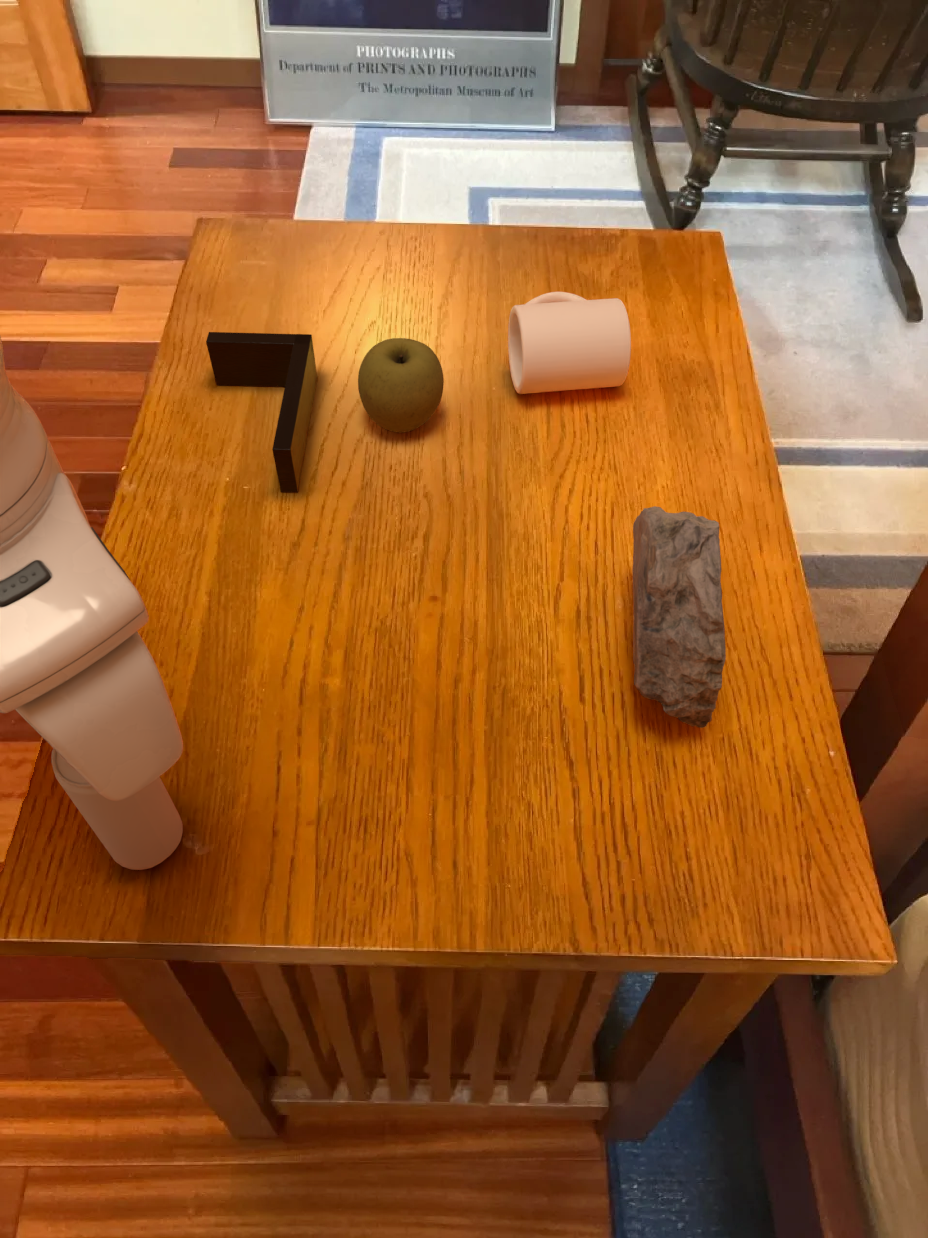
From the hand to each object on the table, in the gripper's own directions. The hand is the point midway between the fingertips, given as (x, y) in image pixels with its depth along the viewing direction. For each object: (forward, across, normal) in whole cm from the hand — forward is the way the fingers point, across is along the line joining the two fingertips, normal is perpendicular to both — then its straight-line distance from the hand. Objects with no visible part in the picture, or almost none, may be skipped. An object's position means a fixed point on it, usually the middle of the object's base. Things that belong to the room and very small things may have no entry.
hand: (72, 704), depth 48 cm
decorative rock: (+17, +14, +36) cm, 42 cm away
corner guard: (+17, -27, +29) cm, 43 cm away
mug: (+17, -15, +56) cm, 60 cm away
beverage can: (+17, 0, 0) cm, 17 cm away
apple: (+17, -20, +40) cm, 47 cm away
